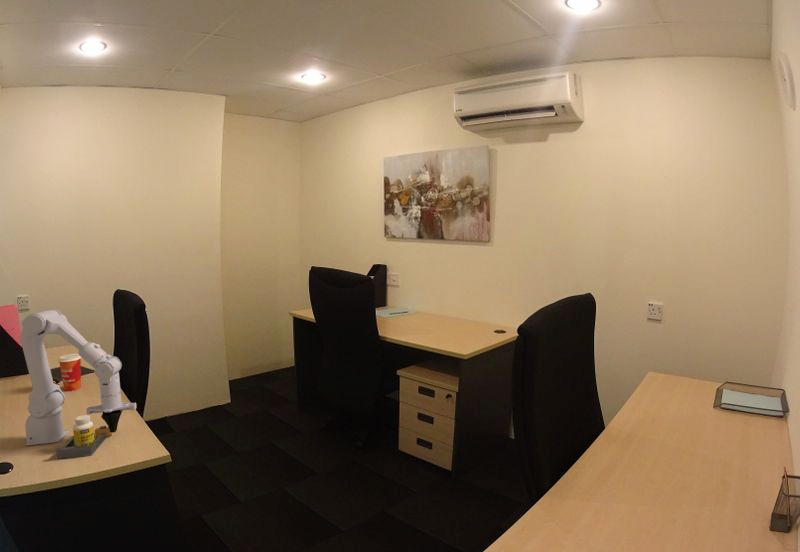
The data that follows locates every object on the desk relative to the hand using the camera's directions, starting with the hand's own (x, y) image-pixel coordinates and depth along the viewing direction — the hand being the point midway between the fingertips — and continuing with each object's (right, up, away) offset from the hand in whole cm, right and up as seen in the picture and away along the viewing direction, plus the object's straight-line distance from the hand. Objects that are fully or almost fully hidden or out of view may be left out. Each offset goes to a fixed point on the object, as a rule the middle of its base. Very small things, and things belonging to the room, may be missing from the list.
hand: (113, 431), depth 154 cm
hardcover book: (-62, +5, +62) cm, 88 cm away
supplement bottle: (-5, -3, -7) cm, 9 cm away
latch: (-3, -2, -1) cm, 4 cm away
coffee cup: (-46, +3, +44) cm, 64 cm away
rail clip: (-5, -2, -7) cm, 9 cm away
